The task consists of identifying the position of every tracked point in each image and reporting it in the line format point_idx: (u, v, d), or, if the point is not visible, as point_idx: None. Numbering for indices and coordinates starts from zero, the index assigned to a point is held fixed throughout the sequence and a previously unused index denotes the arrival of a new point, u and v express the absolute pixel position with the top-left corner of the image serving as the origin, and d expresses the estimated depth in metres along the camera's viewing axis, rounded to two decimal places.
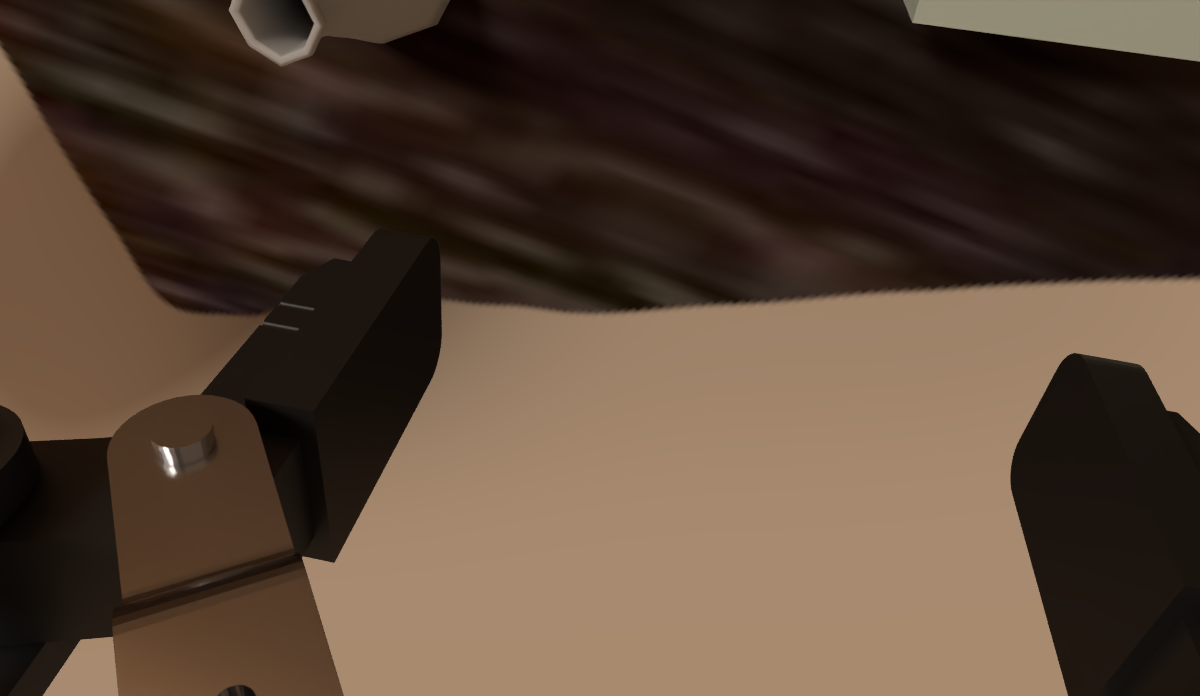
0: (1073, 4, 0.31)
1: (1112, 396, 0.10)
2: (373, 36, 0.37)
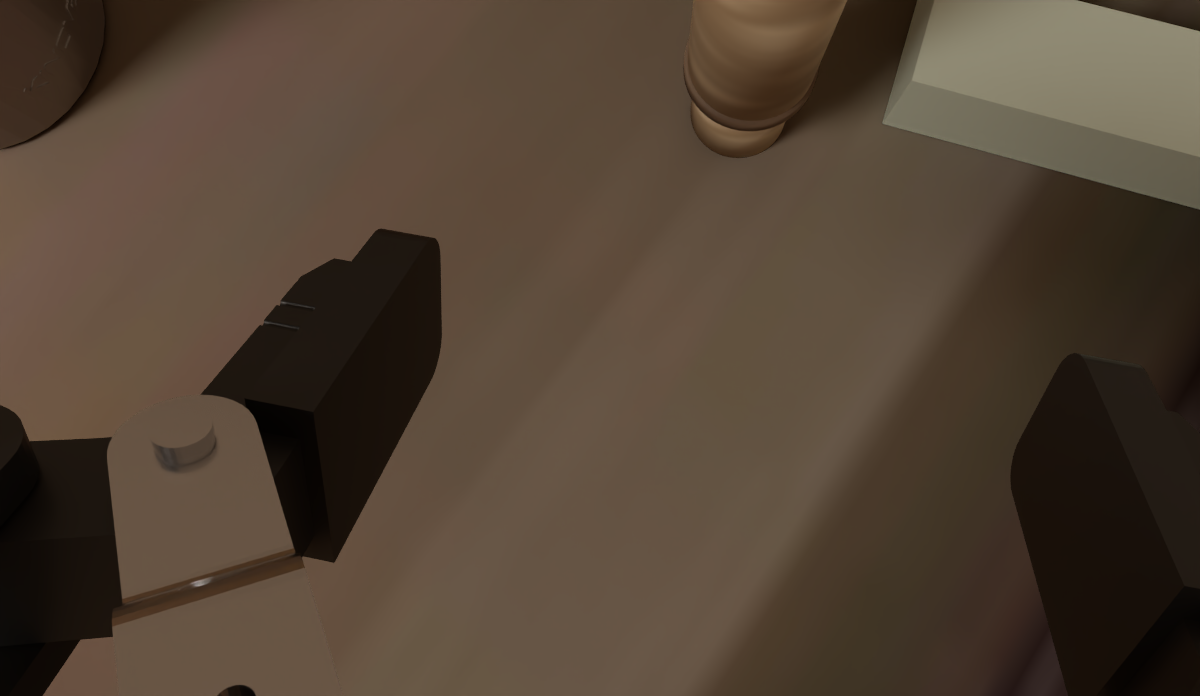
0: None
1: (1112, 396, 0.10)
2: None
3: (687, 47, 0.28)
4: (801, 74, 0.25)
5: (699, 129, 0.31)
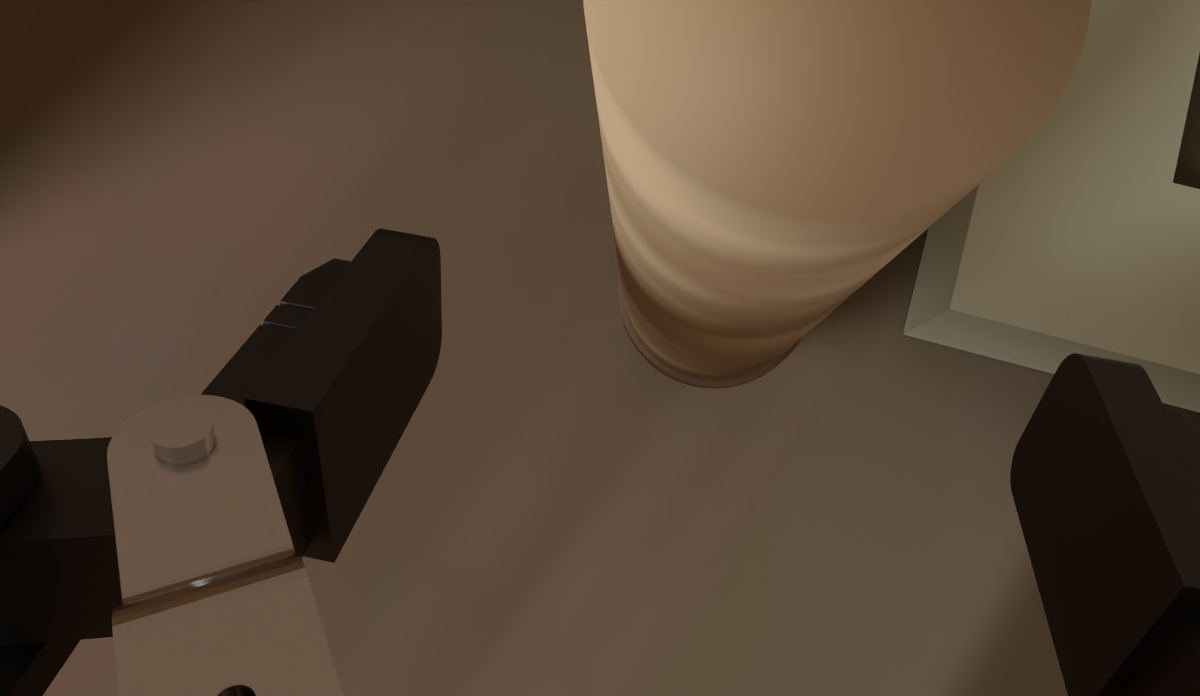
0: None
1: (1112, 396, 0.10)
2: None
3: None
4: (788, 347, 0.16)
5: None
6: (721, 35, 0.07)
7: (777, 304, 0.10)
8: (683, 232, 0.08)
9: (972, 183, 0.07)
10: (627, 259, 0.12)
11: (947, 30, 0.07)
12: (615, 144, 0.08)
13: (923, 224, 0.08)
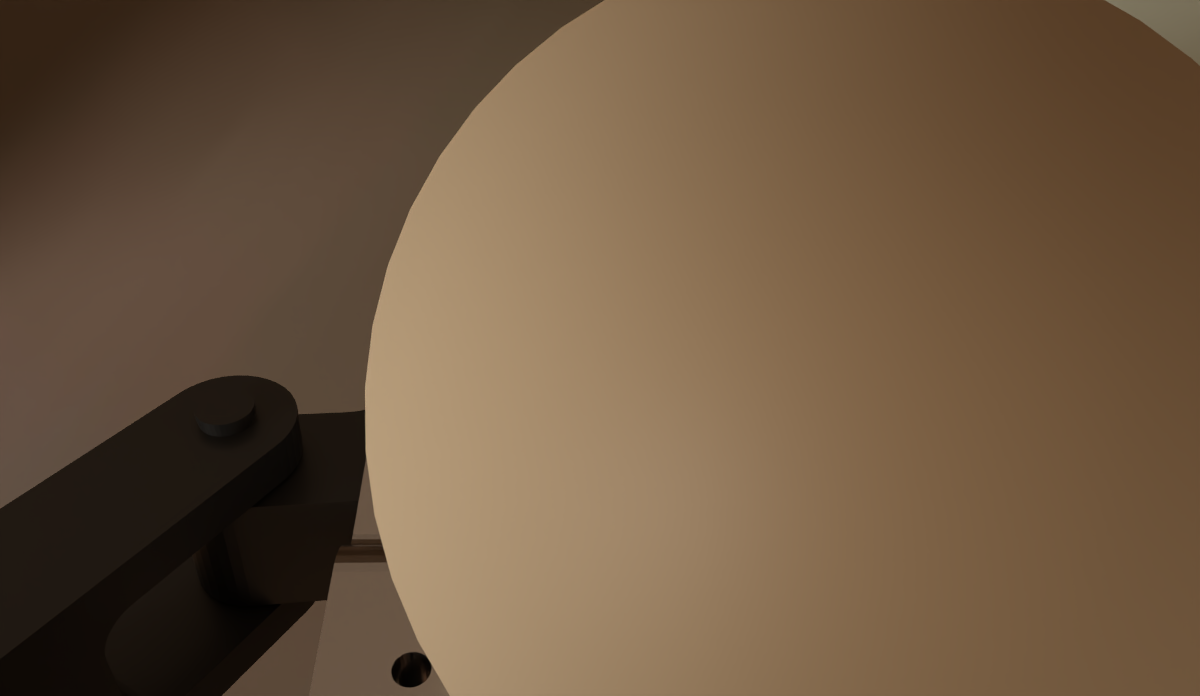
0: None
1: None
2: None
3: None
4: None
5: None
6: (630, 515, 0.03)
7: None
8: None
9: None
10: None
11: (1087, 523, 0.03)
12: None
13: None
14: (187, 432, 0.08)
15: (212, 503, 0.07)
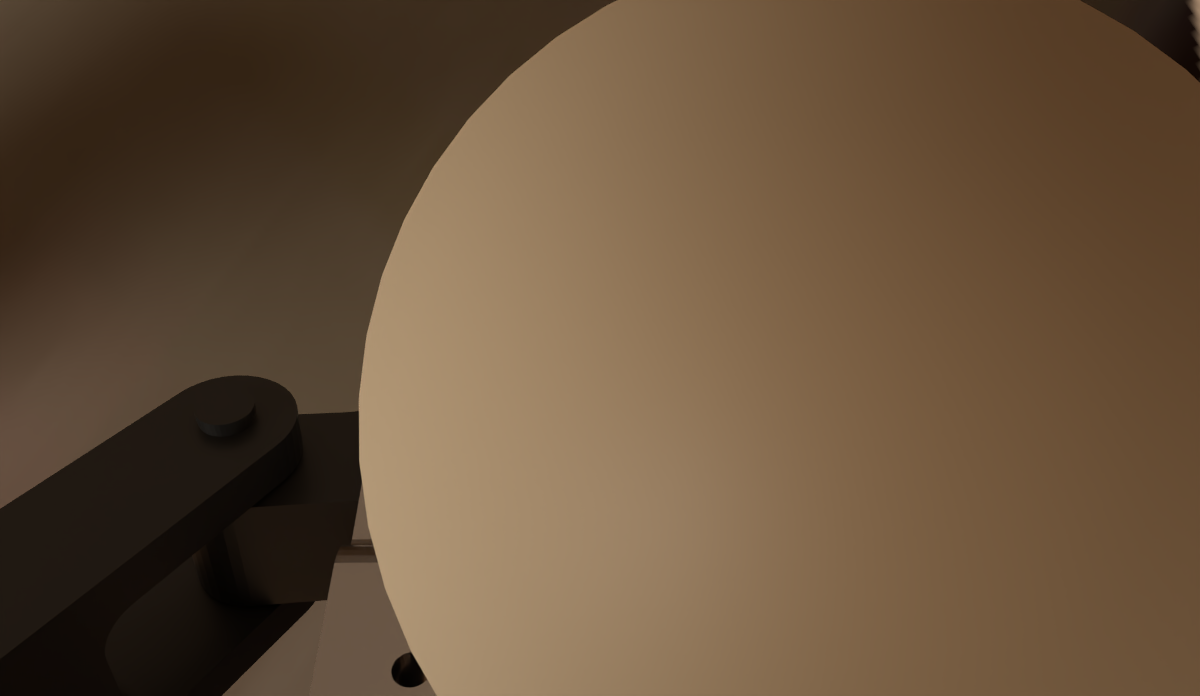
0: None
1: None
2: None
3: None
4: None
5: None
6: (622, 525, 0.03)
7: None
8: None
9: None
10: None
11: (1082, 533, 0.03)
12: None
13: None
14: (187, 432, 0.08)
15: (211, 503, 0.07)
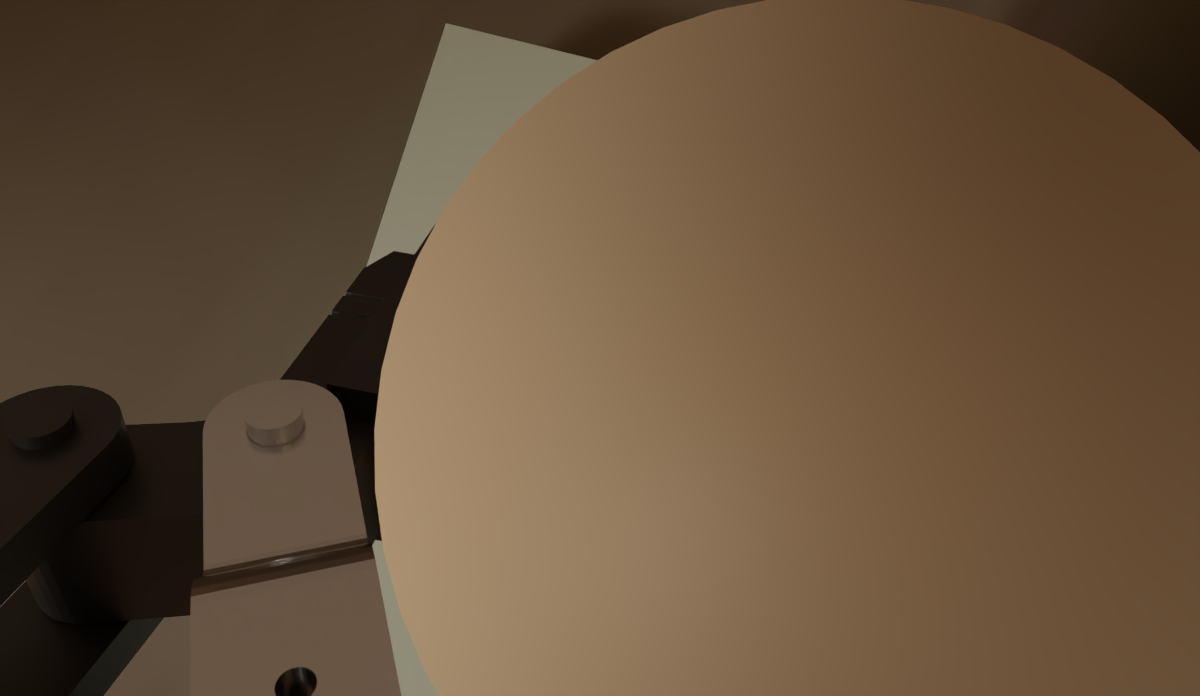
0: None
1: None
2: None
3: None
4: None
5: None
6: (628, 552, 0.04)
7: None
8: None
9: None
10: None
11: (1059, 560, 0.04)
12: None
13: None
14: (1, 451, 0.07)
15: (47, 515, 0.07)
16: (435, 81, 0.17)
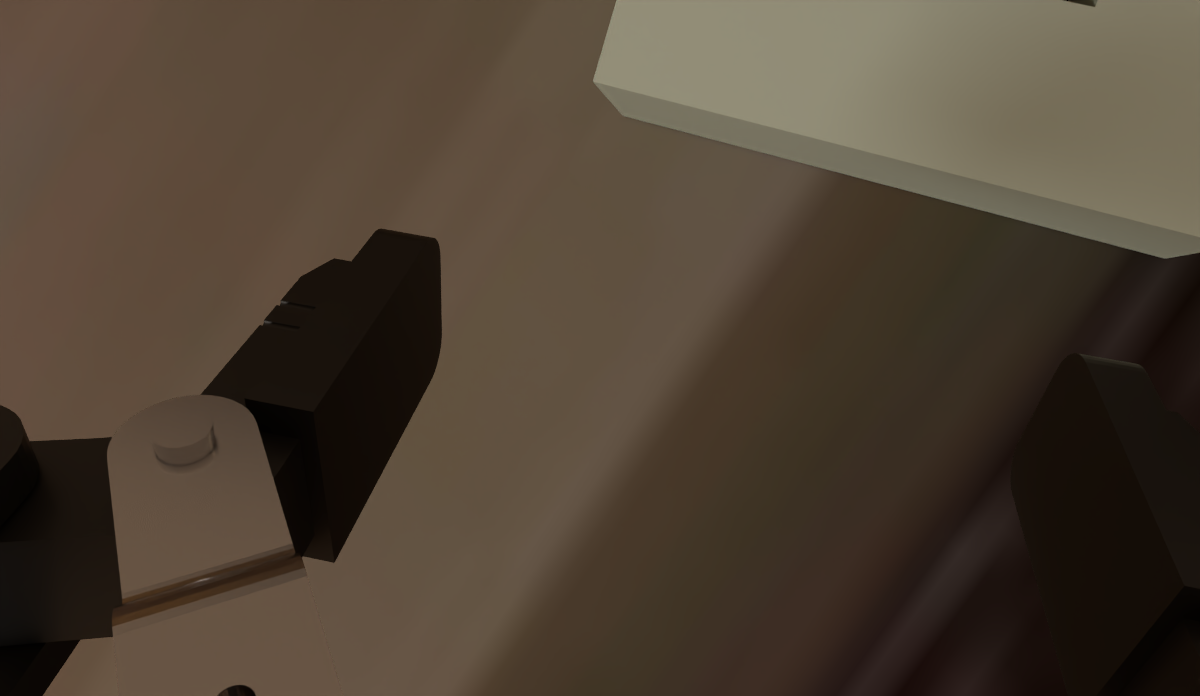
0: None
1: (1112, 396, 0.10)
2: None
3: None
4: None
5: None
6: None
7: None
8: None
9: None
10: None
11: None
12: None
13: None
14: None
15: None
16: None
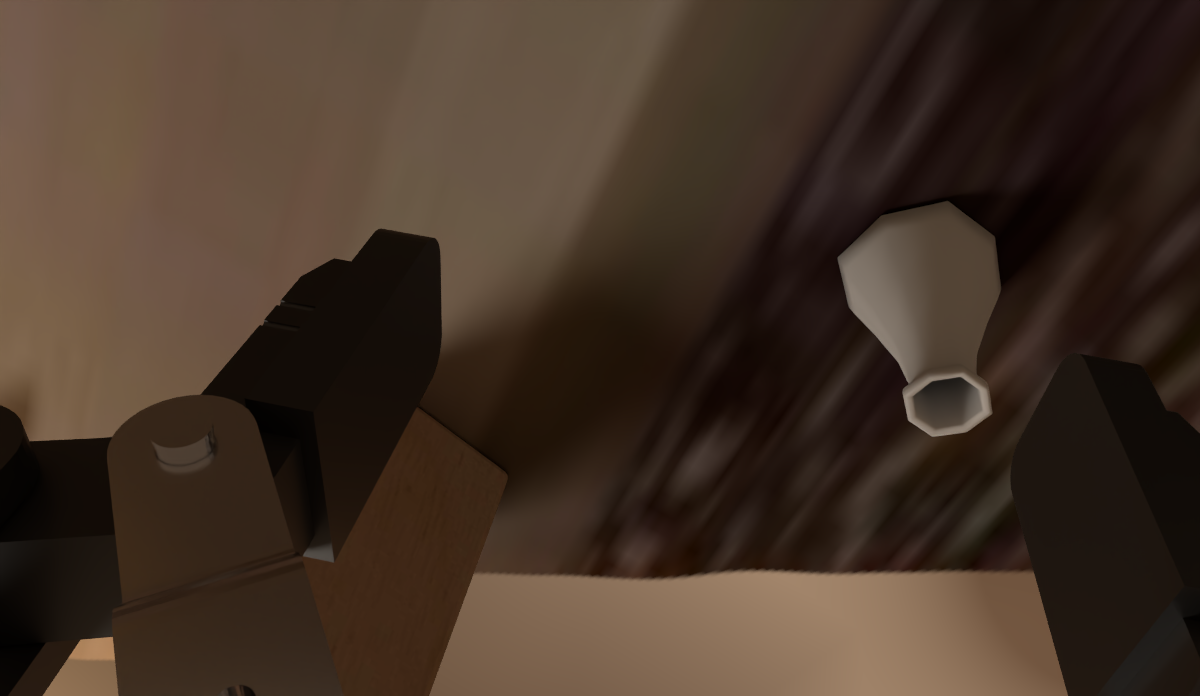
0: None
1: (1112, 396, 0.10)
2: (990, 303, 0.39)
3: None
4: None
5: None
6: None
7: None
8: None
9: None
10: None
11: None
12: None
13: None
14: None
15: None
16: None
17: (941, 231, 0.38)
